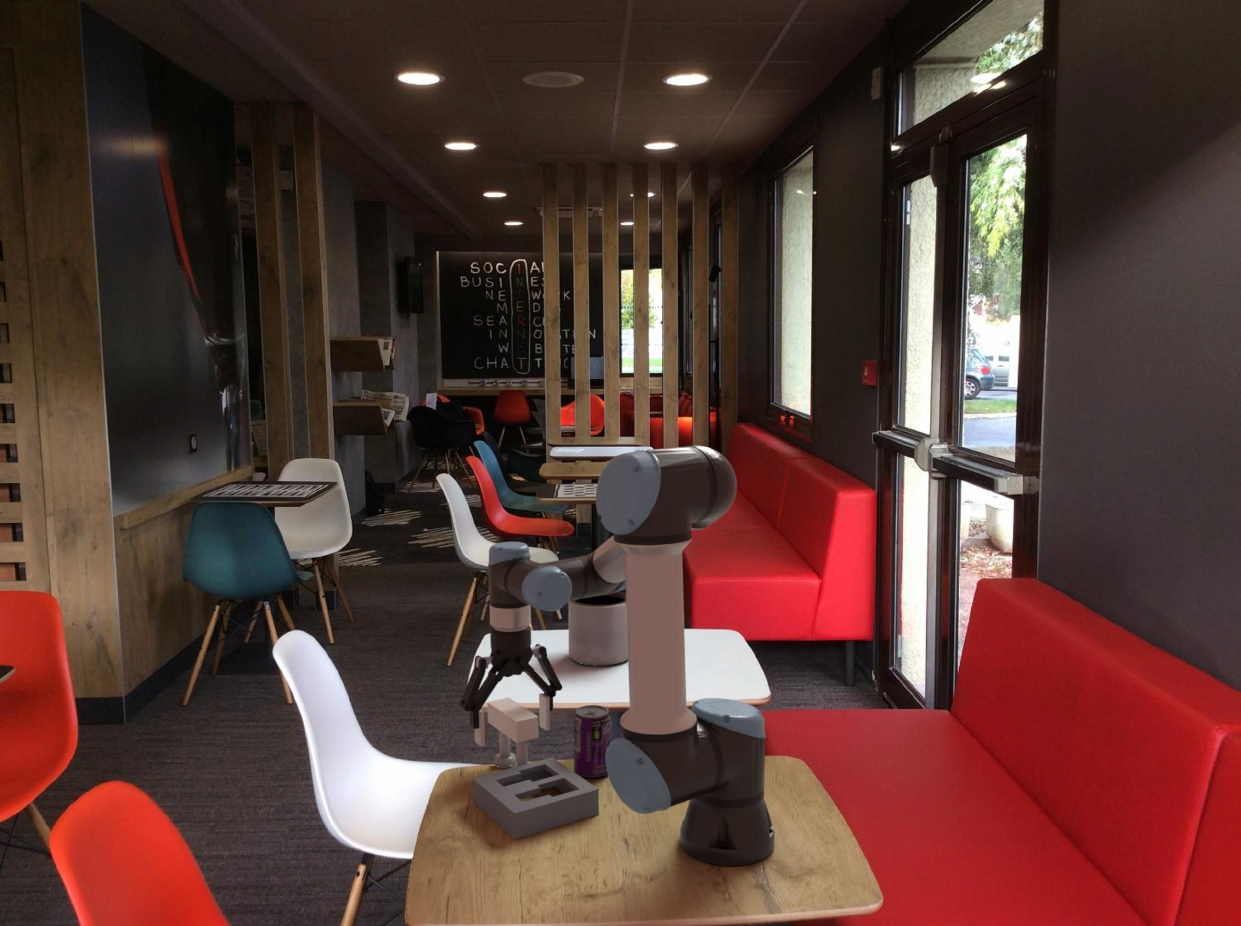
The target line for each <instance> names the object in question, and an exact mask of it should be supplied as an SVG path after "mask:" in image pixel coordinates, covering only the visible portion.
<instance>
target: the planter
mask: <svg viewBox="0 0 1241 926" xmlns="http://www.w3.org/2000/svg"><path fill="white" fill-rule="evenodd" d="M567 603H568V656H569V658H570V659H572V661H574V662H575V663H577V662H578V663H577V664H580V663H582V664H581V665H583V664H587V665H586V666H589V665H596V666H595V667H605V666H604V665H610V666H614V665H613V664H616V665H619V664H618V663H620V664H622V662H623V663H624V661H625V662H626V661H628V641H627V612H626V592H625V593H624V592H622V591H618V592H615V593H613V594H606V595H599V596H594V597H588V598H583V599H578V600H573V601H568V602H567Z"/></svg>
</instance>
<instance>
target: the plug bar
mask: <svg viewBox="0 0 1241 926" xmlns="http://www.w3.org/2000/svg"><path fill="white" fill-rule="evenodd" d="M486 704H487V723H488V724H490V725H491V726H492V727H493V728H495V729H496V730H498V735H499V739H498V740H499V753H497V754H495V755H494V766H495V767H496V766H499V767H497V768H498V769H510V768H514V767H517V766H521V765H525V764H528V741H530V740H534V739H538V738H540V737H539V734H540V731H539V729H540V728H539V727H540V726H539V716H538V715H537V714H535V713H533V712H532V711H531V710H529V709H527V708H526V707H525V706H522V705H521V704H519V703H518V702H517V701H515V700H513V699H511V698H510V697H504V698H500V699H495V700H491V701H487V703H486ZM511 740H512V741H513V742H515V747H516V748H515V750H516V751H515V752H516V753H513V752H511ZM510 765H515V766H510Z"/></svg>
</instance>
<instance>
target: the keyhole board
mask: <svg viewBox="0 0 1241 926" xmlns="http://www.w3.org/2000/svg"><path fill="white" fill-rule="evenodd" d="M516 766H517V765H516ZM513 767H514V768H513ZM513 767H511V768H505V769H503V770H499V771H494V772H491V773H487V774H483V775H480V776H475V777H473V778H472V800H473V804H474V805H476V806H477V807H478V808H479V809H480V810H481V811H482V812H484V814H486V816H488V817H489V818H490V819H491V820H492V821H494V823H496V824H497V825H498V826H499V827H500V828H502V830H503V831H505V833H507V834H508V835H509V836H510V837H512V838H513V839H514V840H518V839H522V838H525V837H528V836H531V835H535V834H539V833H542V832H545V831H548V830H552V829H554V828H557V827H561V826H565V825H567V824H571V823H575V822H577V821H580V820H584V819H588V818H591V817H593V816H594V817H595V816H598V815H600V814H599V813H600V811H599V809H600V807H599V805H600V804H599V799H600V798H599V795H600V794H599V789H598V788H597V787H596V786H594V785H593V784H591V783H590V782H589V781H587V780H586V779H584V778H583V776H581V775H580V774H578V773H576V772H575V771H574V770H571V769H570V768H569V767H568V766H566V765H565V764H563V762H560V761H559V760H558V759H556V758H554V757H549V758H544V759H541V760H537V761H533V762H530V763H527V764H525V765H521V766H517V767H515V766H513ZM551 787H554V788H556V789H557V790H559V791H560V792H561V794H558V795H554V796H552V795H550V794H546V795H543V796H540V797H535V798H532V799H529V800H526V801H522V800H521V799H524V798H528V797H531V796H535V795H539V794H541V790H545V789H548V788H551Z"/></svg>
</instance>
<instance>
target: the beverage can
mask: <svg viewBox="0 0 1241 926" xmlns="http://www.w3.org/2000/svg"><path fill="white" fill-rule="evenodd" d="M609 711H610V710H609V708H608V707H606V706H603V705H599V704H589V705H583V706H580V707H578V708H576V710H575V715H574V718H573V720H572V721H573V725H572V726H573V727H572V728H573V729H572V730H573V772H574V773H576V774H577V775H579V776H581V777H584V778H591V779H596V778H602V777H603V776H605V775H608V773H607V769H606V762H605V755H606V750H607V747H609V744H610V743H611V742H612V741H613V740H612V739H613V738H612V732H613V731H612V718H611V716H610V712H609Z"/></svg>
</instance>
